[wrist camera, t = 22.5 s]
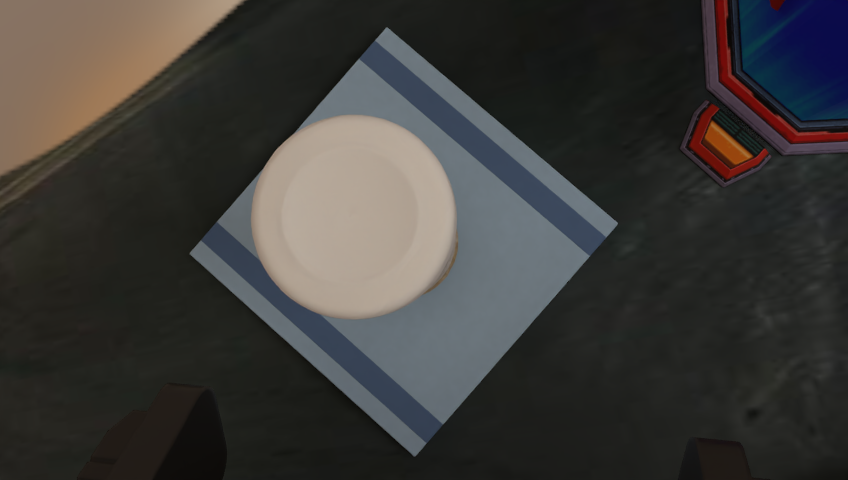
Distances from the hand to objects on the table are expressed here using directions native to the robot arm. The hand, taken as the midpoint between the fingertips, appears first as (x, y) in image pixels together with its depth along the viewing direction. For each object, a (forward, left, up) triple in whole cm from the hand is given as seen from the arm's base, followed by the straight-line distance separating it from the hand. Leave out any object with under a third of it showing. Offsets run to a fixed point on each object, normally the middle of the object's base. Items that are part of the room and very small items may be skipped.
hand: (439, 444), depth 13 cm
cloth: (+5, -2, -17) cm, 18 cm away
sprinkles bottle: (+4, -2, -17) cm, 17 cm away
